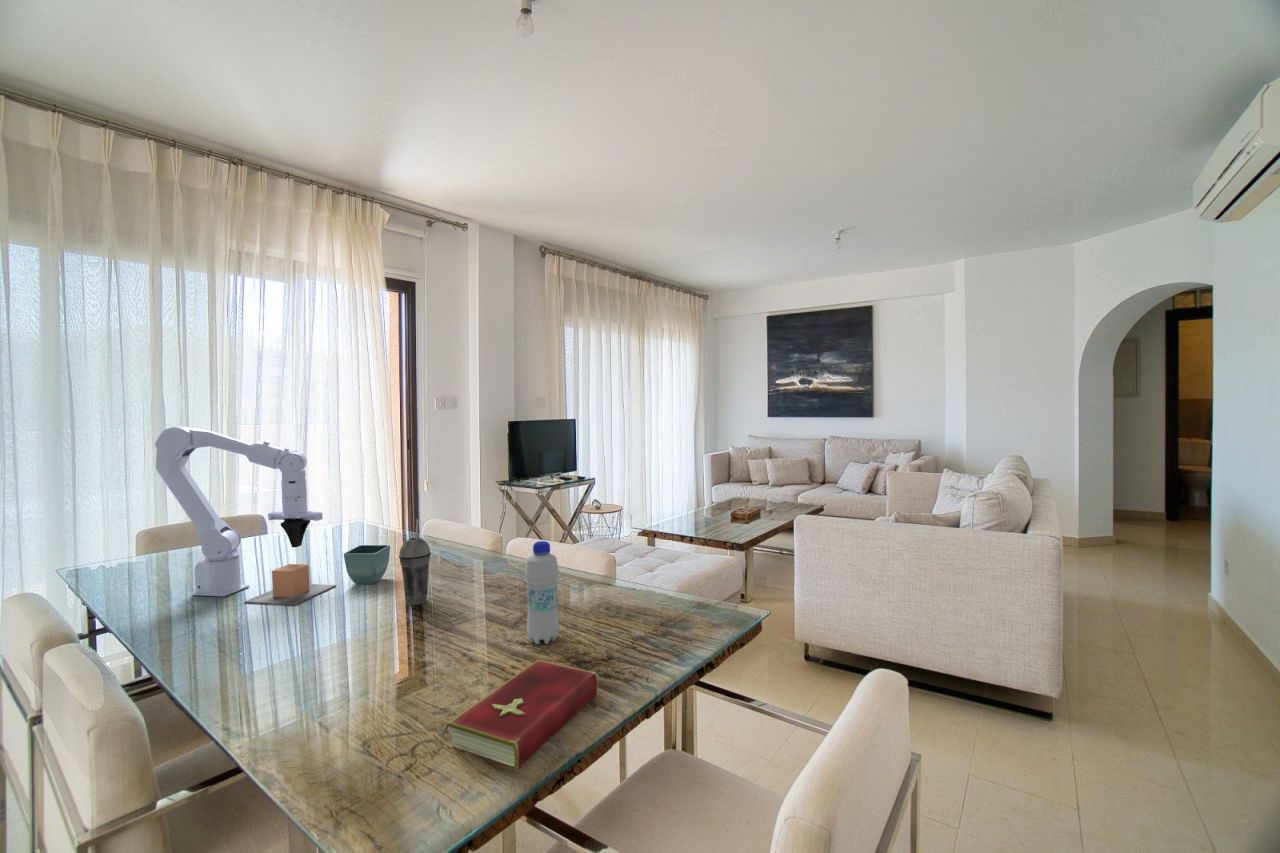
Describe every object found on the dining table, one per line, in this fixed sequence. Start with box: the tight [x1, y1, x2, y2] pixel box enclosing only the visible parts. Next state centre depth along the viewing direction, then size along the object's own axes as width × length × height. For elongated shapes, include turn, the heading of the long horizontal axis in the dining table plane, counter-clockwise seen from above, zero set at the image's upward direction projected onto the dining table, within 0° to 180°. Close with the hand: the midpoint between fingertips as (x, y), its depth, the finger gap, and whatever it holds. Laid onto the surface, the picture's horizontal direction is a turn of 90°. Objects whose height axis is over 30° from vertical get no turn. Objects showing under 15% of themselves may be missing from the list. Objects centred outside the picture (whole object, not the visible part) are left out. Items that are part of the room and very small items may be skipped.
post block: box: [244, 583, 337, 607], centre depth 142 cm, size 14×14×5 cm
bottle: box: [524, 540, 560, 645], centre depth 112 cm, size 7×7×20 cm
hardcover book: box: [446, 658, 600, 771], centre depth 85 cm, size 12×21×4 cm, turn 154°
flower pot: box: [343, 544, 391, 585], centre depth 152 cm, size 9×9×9 cm
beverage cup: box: [398, 518, 432, 606], centre depth 135 cm, size 7×7×20 cm
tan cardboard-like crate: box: [271, 563, 310, 597], centre depth 142 cm, size 6×6×7 cm
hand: (296, 546), depth 152 cm, fingers closed
